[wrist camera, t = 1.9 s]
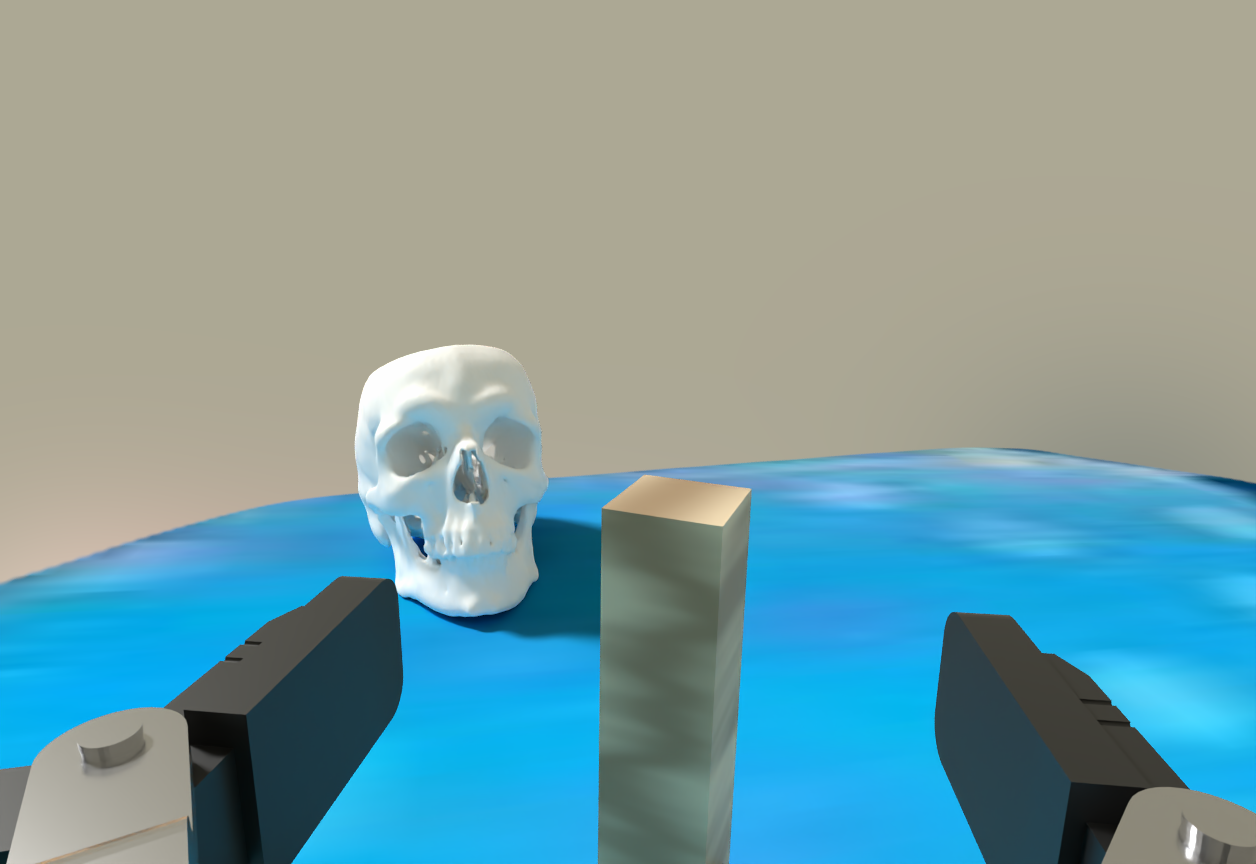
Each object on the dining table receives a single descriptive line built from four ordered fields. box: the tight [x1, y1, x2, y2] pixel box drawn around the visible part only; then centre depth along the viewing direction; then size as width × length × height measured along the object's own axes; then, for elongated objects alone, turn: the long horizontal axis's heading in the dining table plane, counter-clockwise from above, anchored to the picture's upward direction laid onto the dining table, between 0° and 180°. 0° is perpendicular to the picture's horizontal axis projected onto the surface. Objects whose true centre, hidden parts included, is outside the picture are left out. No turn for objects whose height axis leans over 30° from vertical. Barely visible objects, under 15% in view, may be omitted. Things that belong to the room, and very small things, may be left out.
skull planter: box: [355, 345, 548, 617], centre depth 56 cm, size 14×20×19 cm
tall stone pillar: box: [598, 475, 752, 864], centre depth 21 cm, size 20×4×16 cm, turn 69°
